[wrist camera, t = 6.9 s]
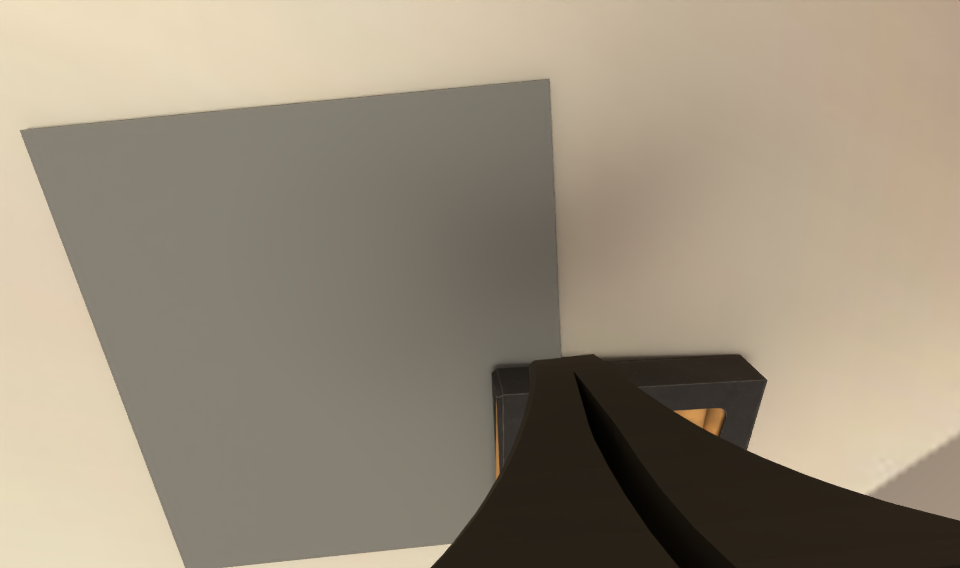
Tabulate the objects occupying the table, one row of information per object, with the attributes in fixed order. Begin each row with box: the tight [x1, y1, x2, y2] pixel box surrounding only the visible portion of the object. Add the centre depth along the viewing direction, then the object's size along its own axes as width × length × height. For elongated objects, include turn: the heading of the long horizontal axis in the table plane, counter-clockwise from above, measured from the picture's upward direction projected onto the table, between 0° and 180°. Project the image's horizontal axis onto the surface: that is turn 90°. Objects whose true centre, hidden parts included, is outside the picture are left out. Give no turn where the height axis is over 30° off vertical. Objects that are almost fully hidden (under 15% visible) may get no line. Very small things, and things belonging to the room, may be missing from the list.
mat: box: [20, 79, 561, 568], centre depth 22 cm, size 18×20×1 cm
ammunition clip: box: [491, 355, 767, 479], centre depth 24 cm, size 11×2×12 cm
